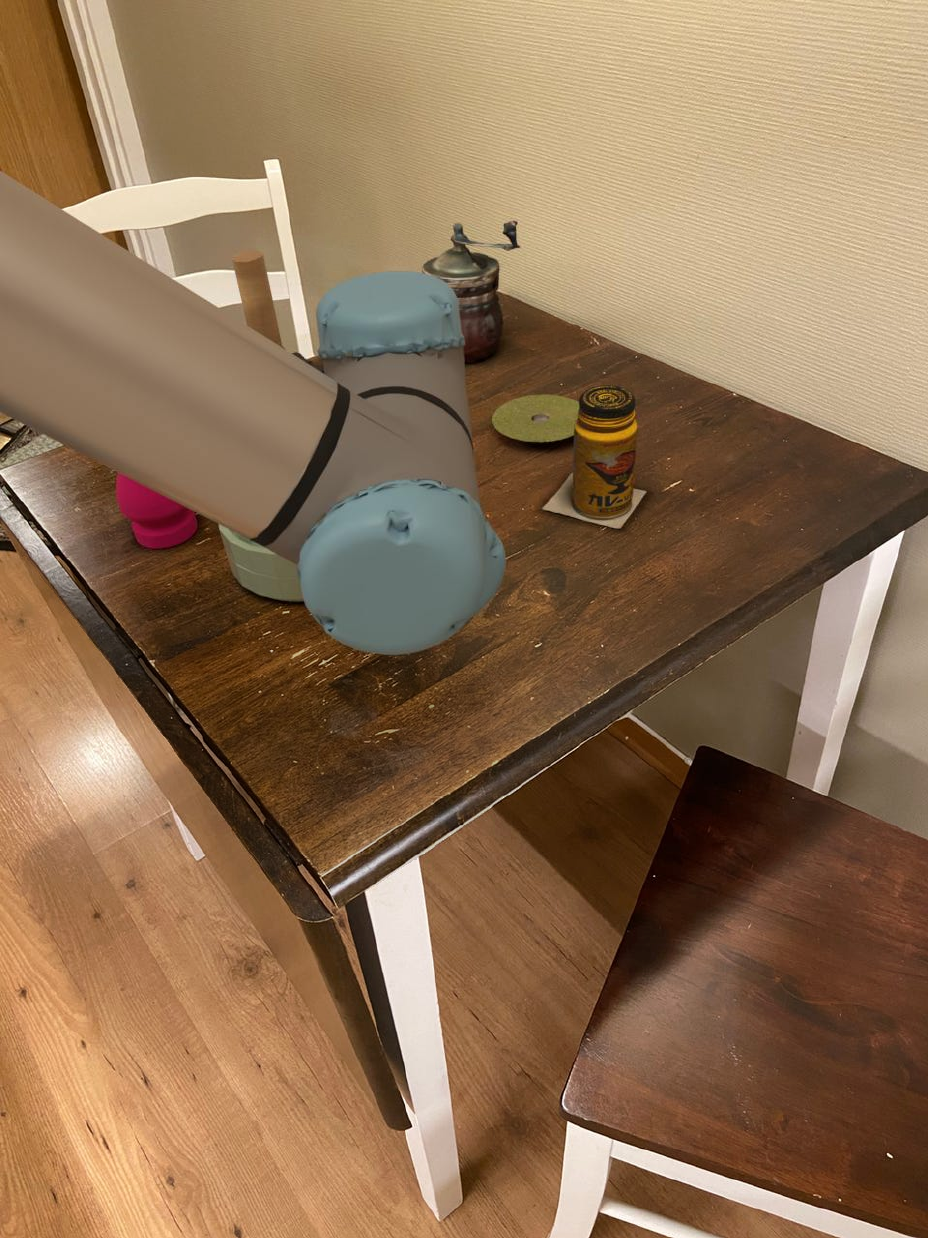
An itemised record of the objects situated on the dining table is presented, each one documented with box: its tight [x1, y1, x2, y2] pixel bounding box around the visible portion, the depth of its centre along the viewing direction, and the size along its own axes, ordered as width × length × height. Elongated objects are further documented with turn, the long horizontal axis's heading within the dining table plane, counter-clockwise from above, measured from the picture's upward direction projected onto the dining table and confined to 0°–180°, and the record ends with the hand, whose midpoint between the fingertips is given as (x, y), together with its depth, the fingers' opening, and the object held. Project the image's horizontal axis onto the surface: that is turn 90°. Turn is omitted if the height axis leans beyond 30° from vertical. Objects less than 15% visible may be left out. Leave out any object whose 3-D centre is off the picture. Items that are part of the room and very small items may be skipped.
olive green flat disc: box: [491, 393, 579, 443], centre depth 101 cm, size 11×11×2 cm
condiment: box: [541, 384, 647, 529], centre depth 86 cm, size 7×8×12 cm
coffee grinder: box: [421, 220, 521, 364], centre depth 113 cm, size 13×15×18 cm
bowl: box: [218, 524, 304, 603], centre depth 84 cm, size 15×15×6 cm
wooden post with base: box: [231, 250, 284, 348], centre depth 75 cm, size 6×6×22 cm
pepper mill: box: [115, 472, 199, 550], centre depth 84 cm, size 7×7×20 cm
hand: (254, 355), depth 78 cm, fingers closed on wooden post with base, 2 cm apart
